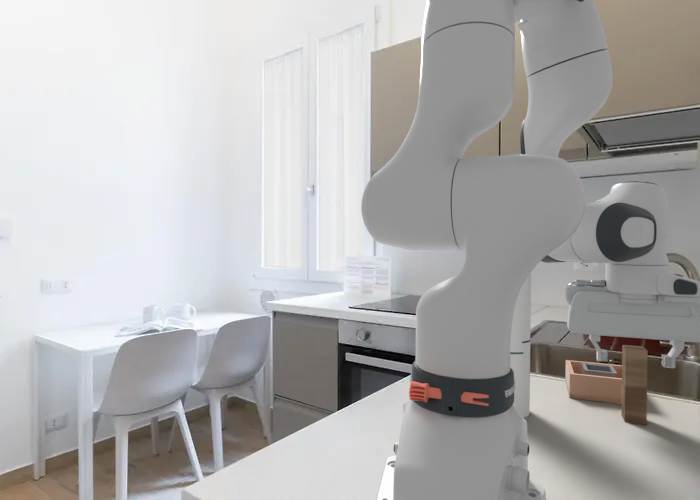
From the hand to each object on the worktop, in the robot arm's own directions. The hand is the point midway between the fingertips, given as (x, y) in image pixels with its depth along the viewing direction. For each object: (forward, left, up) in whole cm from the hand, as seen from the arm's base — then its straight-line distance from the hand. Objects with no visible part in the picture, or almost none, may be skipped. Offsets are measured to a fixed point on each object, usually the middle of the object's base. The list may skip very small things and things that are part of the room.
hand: (634, 363), depth 73 cm
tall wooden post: (-1, 0, -9) cm, 9 cm away
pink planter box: (+12, +4, -9) cm, 16 cm away
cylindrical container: (-5, +20, -9) cm, 22 cm away
